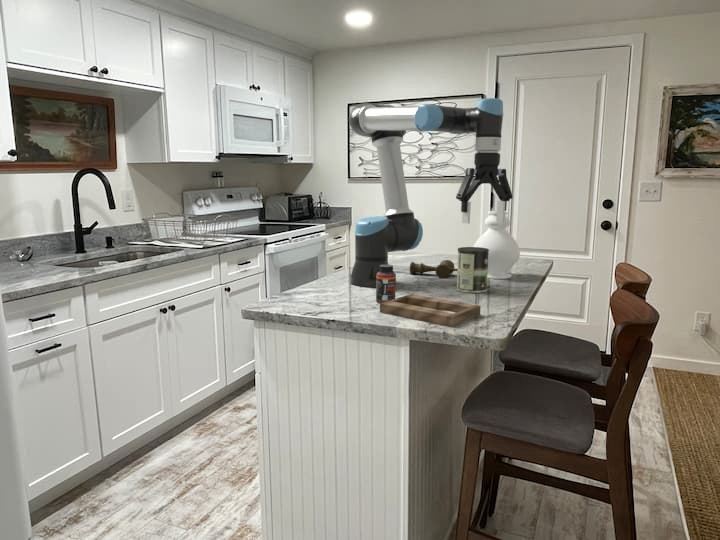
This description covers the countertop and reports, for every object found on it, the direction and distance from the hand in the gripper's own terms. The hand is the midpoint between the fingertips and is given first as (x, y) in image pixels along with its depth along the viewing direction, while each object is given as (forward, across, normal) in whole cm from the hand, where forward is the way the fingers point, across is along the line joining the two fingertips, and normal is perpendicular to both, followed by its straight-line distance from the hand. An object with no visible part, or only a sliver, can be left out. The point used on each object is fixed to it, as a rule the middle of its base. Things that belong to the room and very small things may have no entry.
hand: (483, 222), depth 164 cm
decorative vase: (+24, +30, +26) cm, 47 cm away
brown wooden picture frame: (+24, -25, -10) cm, 36 cm away
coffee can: (+24, +5, +10) cm, 27 cm away
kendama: (+25, +10, +37) cm, 46 cm away
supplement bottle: (+24, -30, +8) cm, 39 cm away
